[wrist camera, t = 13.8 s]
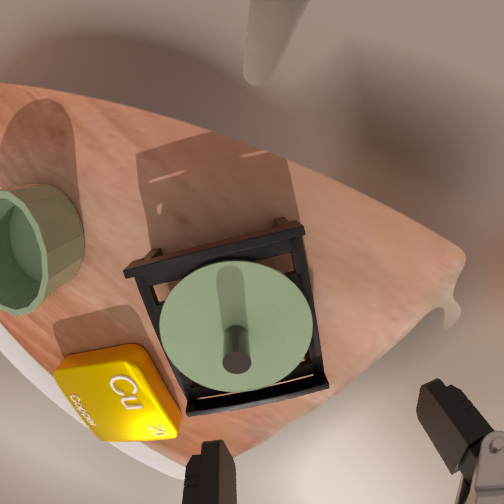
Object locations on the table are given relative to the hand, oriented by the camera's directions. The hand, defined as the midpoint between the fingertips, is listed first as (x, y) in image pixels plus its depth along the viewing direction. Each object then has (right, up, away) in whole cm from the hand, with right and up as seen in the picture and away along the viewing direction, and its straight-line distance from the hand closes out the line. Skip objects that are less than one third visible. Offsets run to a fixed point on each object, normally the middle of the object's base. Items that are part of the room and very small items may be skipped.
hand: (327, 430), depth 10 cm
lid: (-4, -1, +19) cm, 19 cm away
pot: (-29, +9, +21) cm, 37 cm away
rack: (-5, +1, +25) cm, 25 cm away
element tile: (-22, -13, +28) cm, 38 cm away
